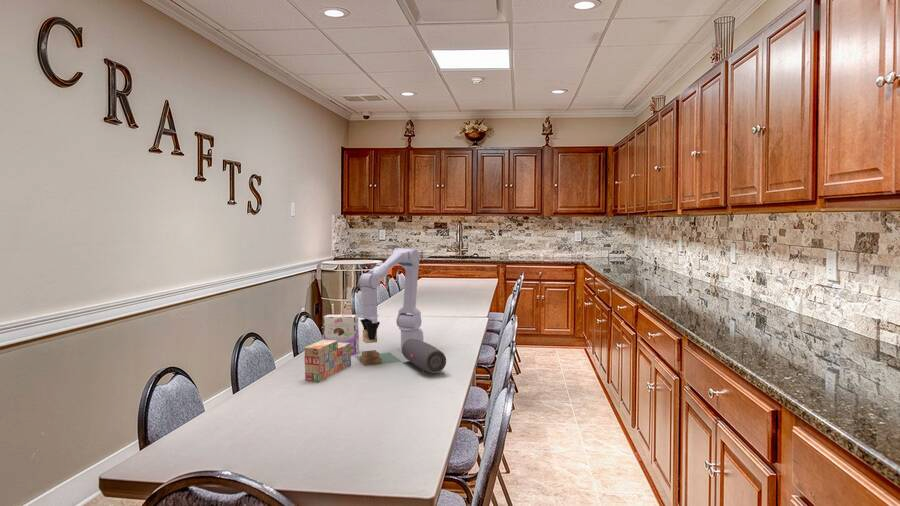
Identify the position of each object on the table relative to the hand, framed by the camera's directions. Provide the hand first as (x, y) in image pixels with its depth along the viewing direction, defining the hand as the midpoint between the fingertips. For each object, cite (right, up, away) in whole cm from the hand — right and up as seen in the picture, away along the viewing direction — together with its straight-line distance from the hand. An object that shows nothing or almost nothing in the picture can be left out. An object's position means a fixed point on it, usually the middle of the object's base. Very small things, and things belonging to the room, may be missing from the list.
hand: (370, 338), depth 215 cm
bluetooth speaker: (+21, -11, -8) cm, 25 cm away
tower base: (0, -10, +1) cm, 10 cm away
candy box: (-14, -9, +16) cm, 24 cm away
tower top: (0, -8, 0) cm, 8 cm away
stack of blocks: (-13, -11, -13) cm, 21 cm away
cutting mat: (+2, -10, +6) cm, 11 cm away
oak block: (0, -1, 0) cm, 1 cm away
